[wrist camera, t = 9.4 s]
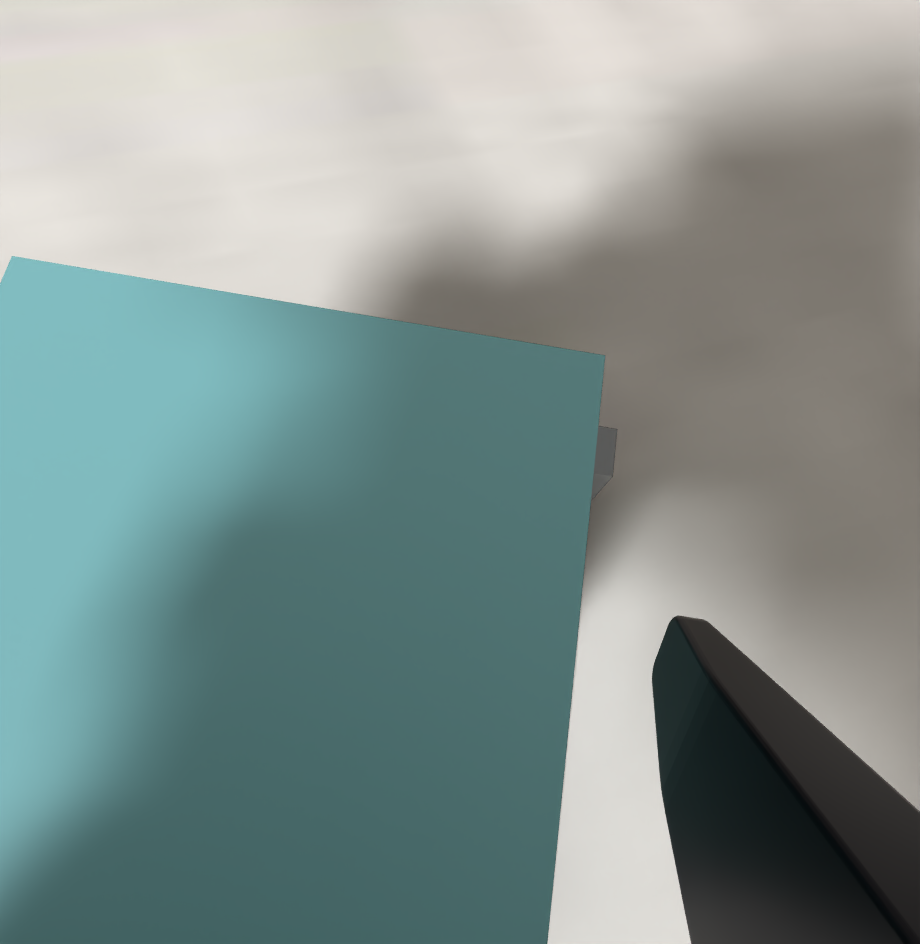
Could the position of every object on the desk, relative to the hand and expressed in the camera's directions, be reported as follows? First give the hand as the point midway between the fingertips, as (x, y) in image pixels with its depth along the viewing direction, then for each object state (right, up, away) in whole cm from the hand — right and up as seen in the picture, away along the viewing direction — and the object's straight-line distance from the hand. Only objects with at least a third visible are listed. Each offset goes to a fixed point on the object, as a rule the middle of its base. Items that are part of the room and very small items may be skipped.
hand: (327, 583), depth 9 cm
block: (-1, -3, +8) cm, 9 cm away
